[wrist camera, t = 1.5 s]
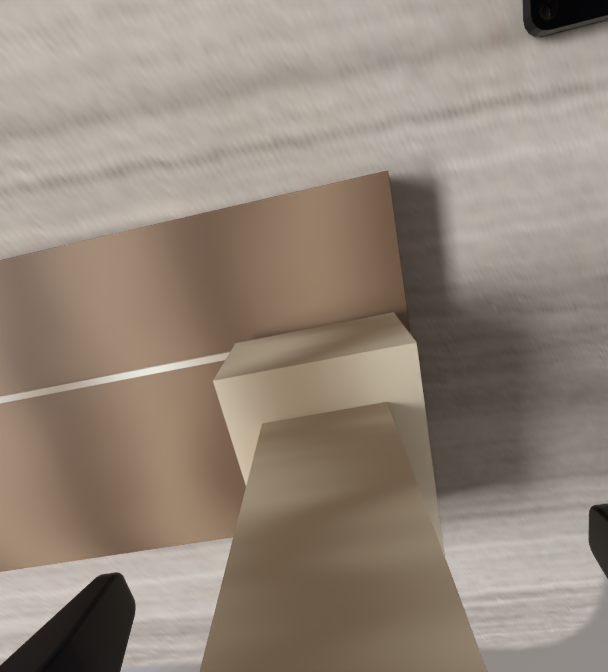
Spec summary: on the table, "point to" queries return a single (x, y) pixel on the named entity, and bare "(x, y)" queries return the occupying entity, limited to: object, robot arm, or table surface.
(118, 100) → the table surface
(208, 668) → the block
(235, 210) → the walnut board
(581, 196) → the table surface
